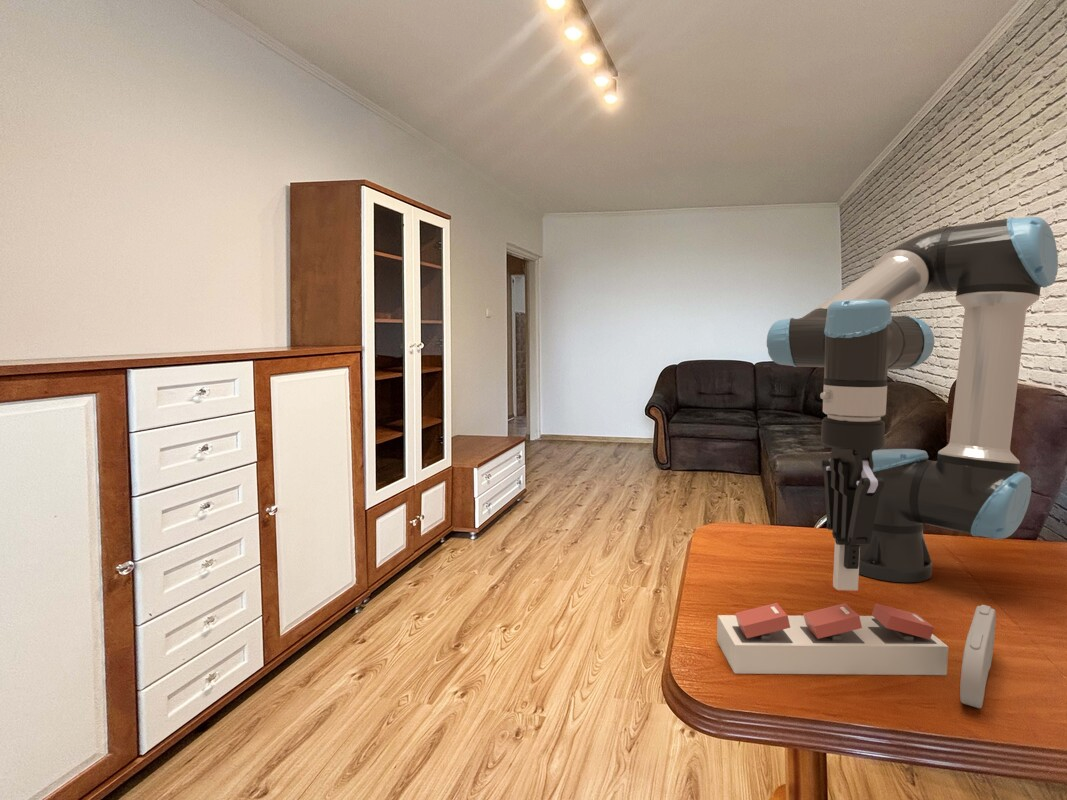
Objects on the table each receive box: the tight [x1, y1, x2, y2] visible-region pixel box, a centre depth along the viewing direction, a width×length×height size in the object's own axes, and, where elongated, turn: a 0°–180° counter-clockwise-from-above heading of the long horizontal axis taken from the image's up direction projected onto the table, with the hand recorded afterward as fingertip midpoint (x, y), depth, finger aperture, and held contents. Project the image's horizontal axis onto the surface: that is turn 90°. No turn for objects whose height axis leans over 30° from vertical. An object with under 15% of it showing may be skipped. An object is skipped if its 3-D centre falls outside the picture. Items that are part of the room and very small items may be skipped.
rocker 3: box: [871, 602, 935, 639], centre depth 86 cm, size 6×4×2 cm, turn 90°
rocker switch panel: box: [716, 614, 949, 676], centre depth 88 cm, size 28×9×5 cm, turn 88°
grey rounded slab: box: [959, 604, 997, 709], centre depth 81 cm, size 20×2×8 cm, turn 140°
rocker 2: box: [802, 602, 862, 639], centre depth 86 cm, size 6×4×2 cm, turn 87°
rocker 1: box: [734, 602, 790, 638], centre depth 86 cm, size 6×4×2 cm, turn 87°
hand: (845, 587), depth 86 cm, fingers closed
